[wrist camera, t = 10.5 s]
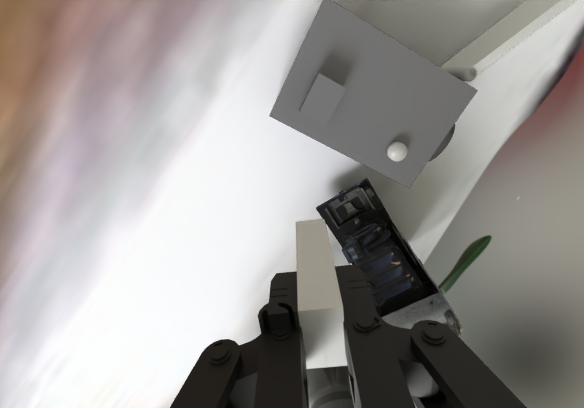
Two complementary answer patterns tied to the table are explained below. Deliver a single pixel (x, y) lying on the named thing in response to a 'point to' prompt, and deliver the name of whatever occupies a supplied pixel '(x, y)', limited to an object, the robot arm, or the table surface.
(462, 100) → the block
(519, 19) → the side door
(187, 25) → the table surface
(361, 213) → the vintage camera
